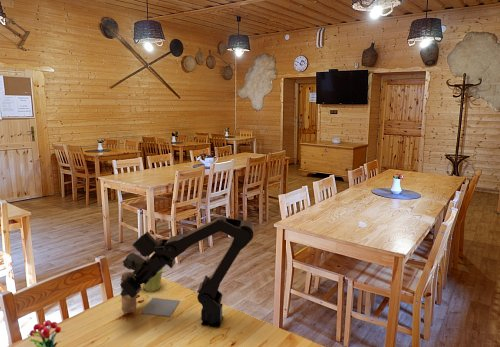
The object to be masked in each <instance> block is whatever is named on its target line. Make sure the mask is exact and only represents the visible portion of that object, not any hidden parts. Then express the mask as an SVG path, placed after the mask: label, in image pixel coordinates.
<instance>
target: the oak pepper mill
mask: <svg viewBox="0 0 500 347" xmlns="http://www.w3.org/2000/svg"><path fill="white" fill-rule="evenodd" d="M128 276H129V277H133V278H134V276H135V274H134V273H133V271H127V272H123V273H122V274H121V278H120V284H121V283H122V282H123V281H124V280H125V279H126V278H127V277H128ZM134 279H135V278H134ZM135 280H136V279H135ZM122 290H123V288H122V287H121V286H120V293H121V292H122ZM120 296H121V295H120ZM120 299H121V312H123V313H128V314H129V313H133V312H135V311H136V310H137V309H138V307H137V304H138V303H137V295H136V296H135V297H134V298H131V297H130V296H129V295H126V296H121V298H120Z"/></svg>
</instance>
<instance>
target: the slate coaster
mask: <svg viewBox="0 0 500 347" xmlns="http://www.w3.org/2000/svg"><path fill="white" fill-rule="evenodd" d="M180 302H181V300H177V299H167V298H160V297H152V299H150V301H149V302H148V303H147V304H146V305H145V307H143V309H142V311H140V315H141V314H142V315H148V316H149V315H151V316H156V317H158V316H159V317H164V318H165V317H166V318H171V316H172V315H173V313H174V311H175V310H176V308H177V307H178V306H179V304H180Z"/></svg>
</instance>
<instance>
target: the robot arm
mask: <svg viewBox="0 0 500 347" xmlns="http://www.w3.org/2000/svg"><path fill="white" fill-rule="evenodd" d="M219 232H221V233H224V234H226V235H228V236H229V237H231V238H232V241H231V243H230V244H229V245H228V247H227V249H226V251H225V253H224V254H223V256H222V258H221V260H220V261H219V262H218V264H217V266H216V268H214V271H213V272H212V274H211V275H210V276H208V275H206V274H205V275H204V278H203V281H202V282H200V284H199V286H198V289H197V292H196V293H197V295H196V296H197V301H198V303H199V304H201V311H200V313H201V314H200V315H201V316H200V319H201V324H200V325H201V326H204V327H213V328H220V327H221V325H222V322H223V321H224V320H223V319H224V316H223V303H222V301H223V300H222V299H223V296H224V295H223V293H222V292H221V291H219V287H220V285H221V283H222V281H223V279H224V278H225V276H226V275H227V273H228V271H229V269H230V268H231V266H232V265H233V263H234V262H235V260H236V258H237V257H238V256H239V254H240V252H241V251H242V250H243V249H244V248H246V246H248V244H249V243H250V242H251V241H252V240H253V238H254V235H255V234H254V233H255V226H254V223H253V222H251V221H250V220H247V219H245V220H240V219H239V218H232V217H231V218H230V217H226V216H222V215H220V216H218V217H216V218H215V219H213V220H211V221H209V222H207V223H205V224H202V225H201V226H199V227H197V228H195V229H193V230H191V231H189V232H186V233H180V234H177V235H176V234H175V235H172V236H170V237H169V238H163V239H159V240H158V241H157V239H155V238H154V237H153V236H152V235H151V233H150V232H149V231H146V232H145V233H143V234H142V235H140V236H139V237H138V238H137V239H136V241H134V243H132V245H131V246H132V247H133V248H134V249H135V250H137V252H138V253H139V255H138V254H137V253H134V252H130V253H129V254H128V255H127V256H126V257H125V259H124V260H122V265H123V267H124V268H126V269H128V270H132V272H133V273H134V274H135V276H134V278H135V279H136V280H135V279H134V278H133V277H129V276H128V277H127V278H126V279H125V280H124V281H123V282H122V283H121V282H120V285H119V286H120V288H121V287H122V288H123V290H122V292H121V291H120V294H119V295H120V296H126V295H129V296H130V297H131V298H134V297H135V296H136V297H137V295H138V294H139V293H140V292H141V291H142V284H143V285H144V284H146V283H147V282H148V281H149V280H150V279H151V278H152V277H154V276H155V275H156V274H157V273H158V272H159V271H160V270H161V269H162V268H163V267H164V268H165V267H166V266H168V267H169V268H170V269H172V268H173V267H174V266H175V264H176V260H175V259H176V258H177V257H178V256H180V255H181V254H183V253H184V252H185V251H186V250H187V249H188V248H189V247H192V246H193V245H196V244H197V243H199V242H201V241H202V240H203V241H204V240H205V239H207V238H209V237H211V236H212V235H215V234H217V233H219ZM140 255H141V256H140ZM143 257H145V258H146V257H147V258H146V259H145V258H143ZM148 257H149V258H148Z"/></svg>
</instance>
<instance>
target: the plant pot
mask: <svg viewBox="0 0 500 347" xmlns="http://www.w3.org/2000/svg"><path fill="white" fill-rule="evenodd" d="M164 269H165V267H163V268H162V269H161V270H160V271H159V272H158V273H157V274H156V275H155V276H154V277H152V278H151V279H150V280H149V281H148V282H147V283H146V284H144V283H143V287H144V290H145V291H146V292H154V291H159V290H160V289H161V282H162V274H163V272H164Z"/></svg>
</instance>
